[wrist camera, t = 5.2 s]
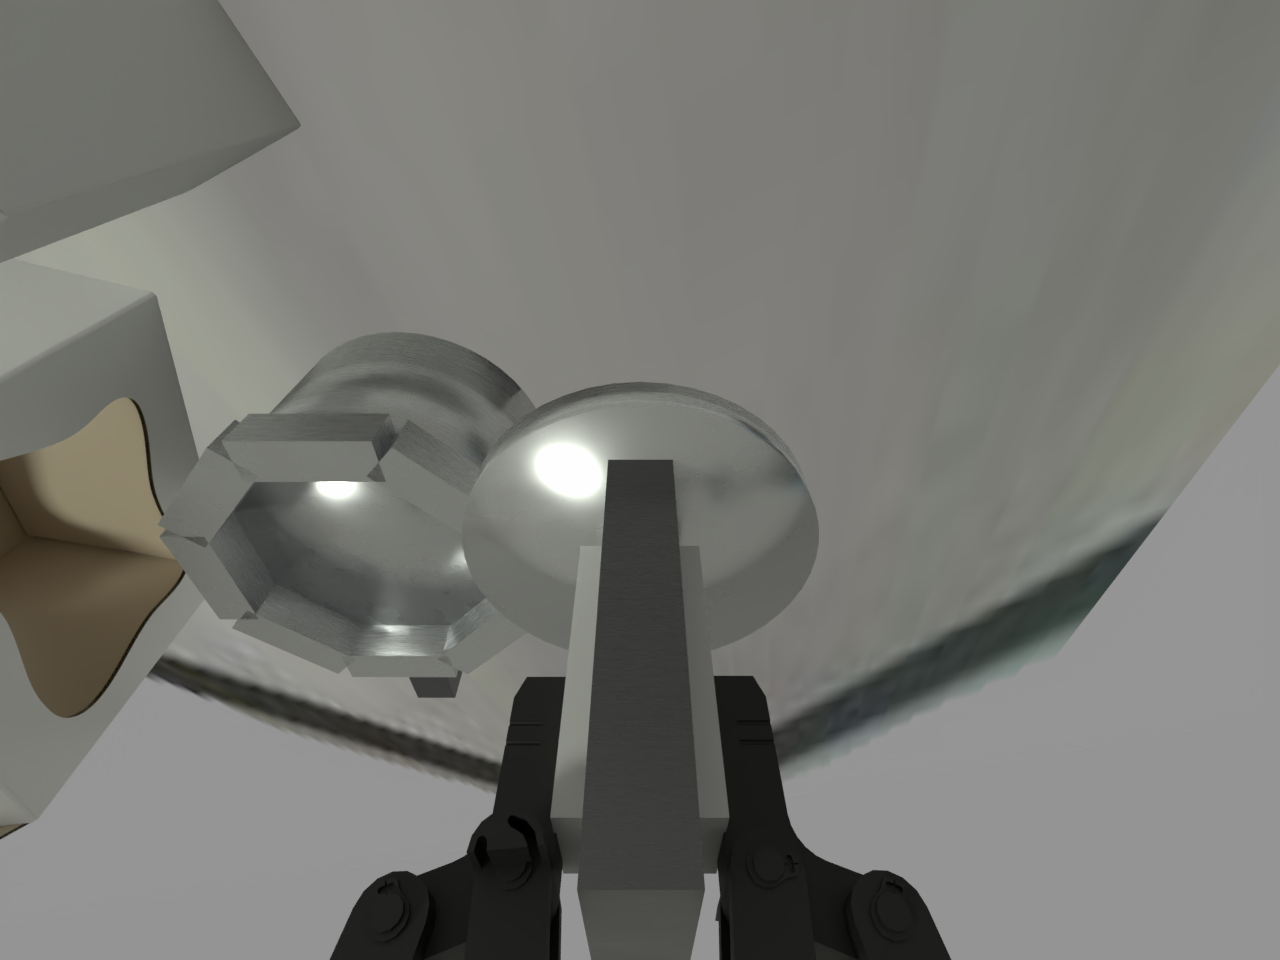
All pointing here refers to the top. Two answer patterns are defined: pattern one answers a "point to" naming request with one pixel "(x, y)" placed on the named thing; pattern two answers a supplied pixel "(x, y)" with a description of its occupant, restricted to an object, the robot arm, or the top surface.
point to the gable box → (81, 518)
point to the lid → (640, 610)
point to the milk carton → (121, 110)
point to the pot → (355, 513)
